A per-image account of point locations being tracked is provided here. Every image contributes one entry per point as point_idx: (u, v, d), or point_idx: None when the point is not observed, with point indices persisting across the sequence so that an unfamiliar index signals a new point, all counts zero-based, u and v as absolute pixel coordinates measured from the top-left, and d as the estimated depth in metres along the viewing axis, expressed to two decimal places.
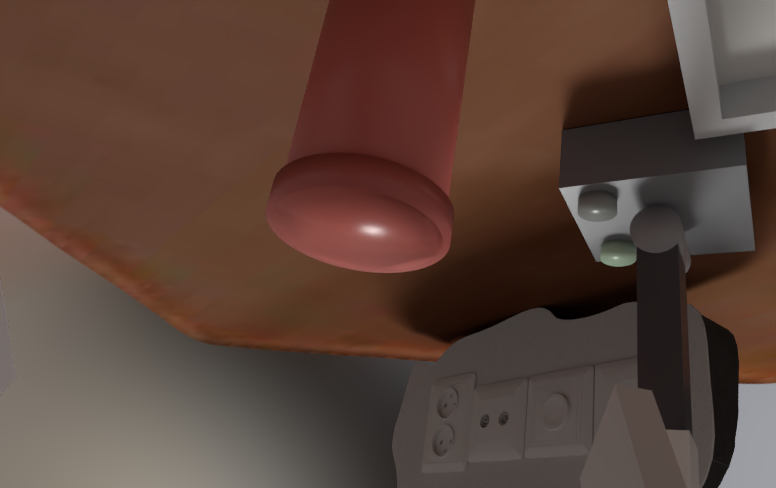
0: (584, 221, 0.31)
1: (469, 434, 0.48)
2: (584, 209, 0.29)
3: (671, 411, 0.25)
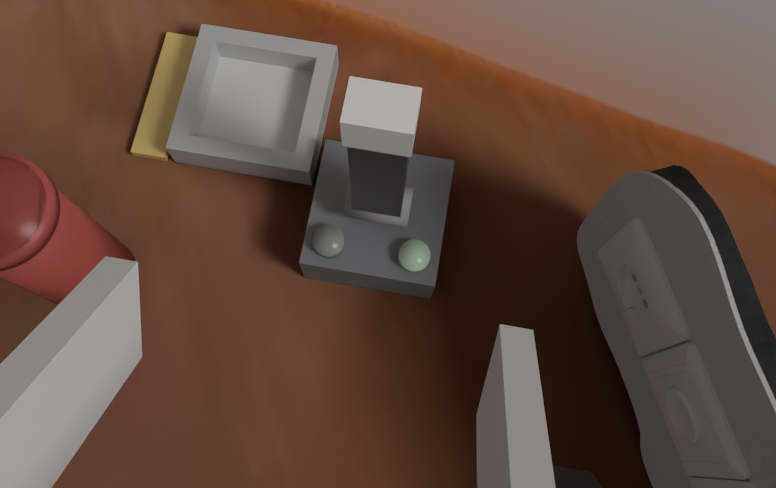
0: (357, 266, 0.35)
1: None
2: (320, 247, 0.35)
3: None
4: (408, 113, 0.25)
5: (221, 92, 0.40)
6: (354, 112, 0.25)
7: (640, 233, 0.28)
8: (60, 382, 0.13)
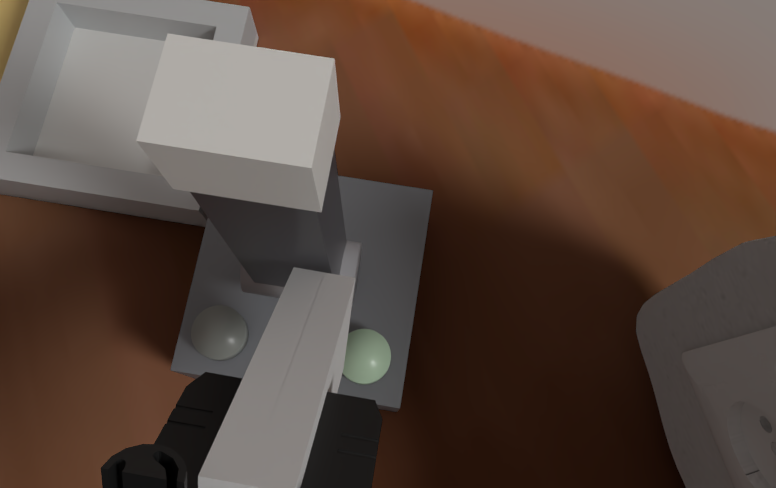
0: None
1: None
2: (203, 344, 0.20)
3: None
4: (300, 118, 0.11)
5: (73, 83, 0.26)
6: (172, 117, 0.11)
7: None
8: None
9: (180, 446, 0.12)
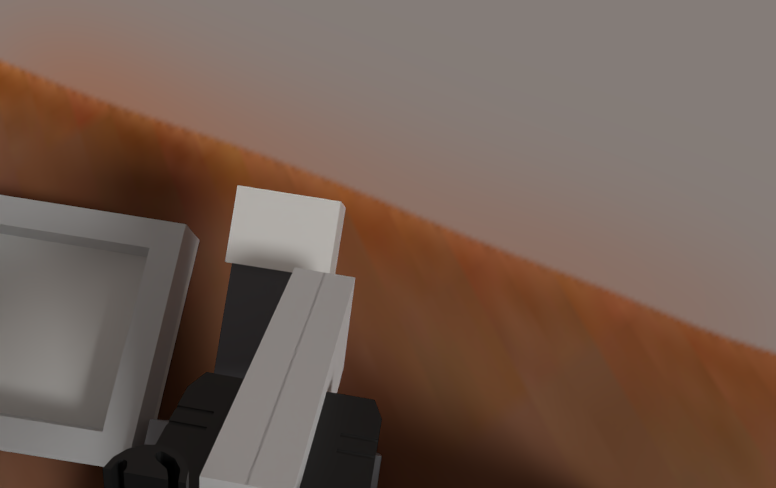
0: None
1: None
2: None
3: None
4: None
5: None
6: None
7: None
8: None
9: (181, 446, 0.12)
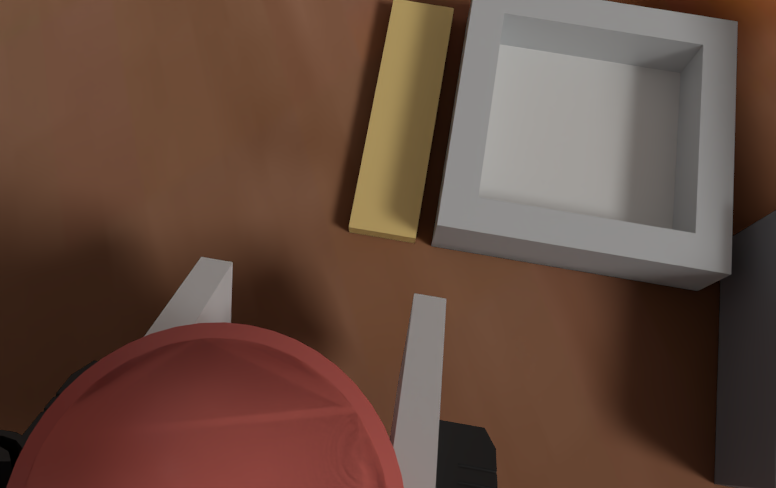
0: None
1: None
2: None
3: None
4: None
5: (506, 110, 0.22)
6: None
7: None
8: None
9: None
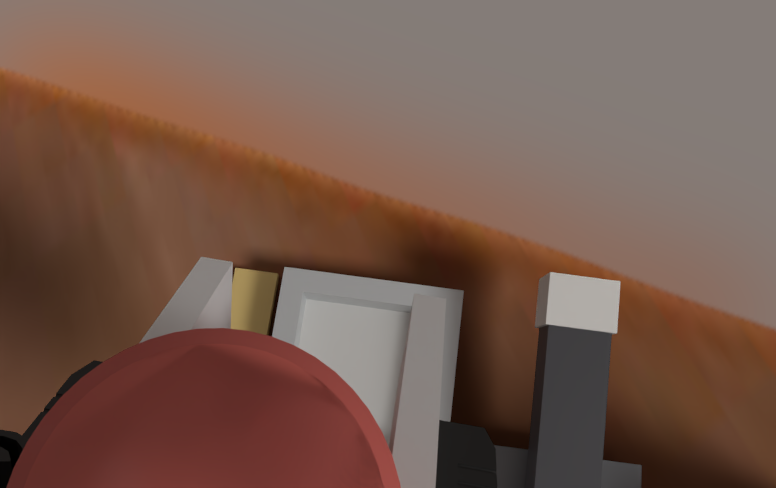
0: None
1: None
2: None
3: (540, 344, 0.27)
4: None
5: (312, 351, 0.31)
6: None
7: None
8: None
9: None
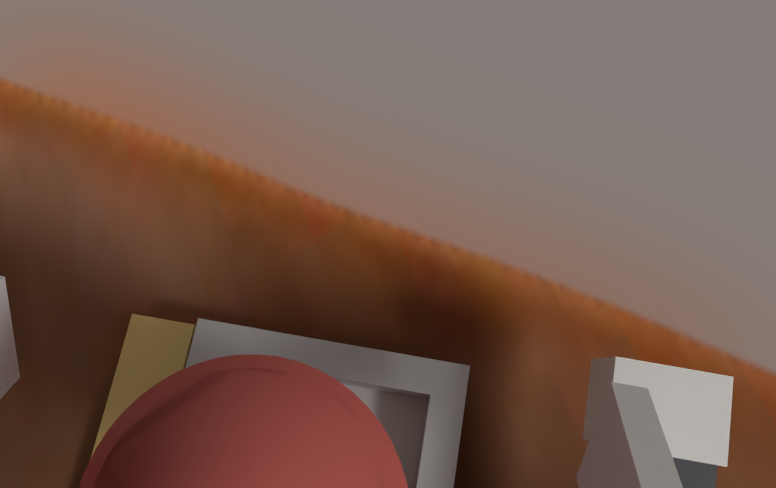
0: None
1: None
2: None
3: None
4: None
5: None
6: None
7: None
8: None
9: None
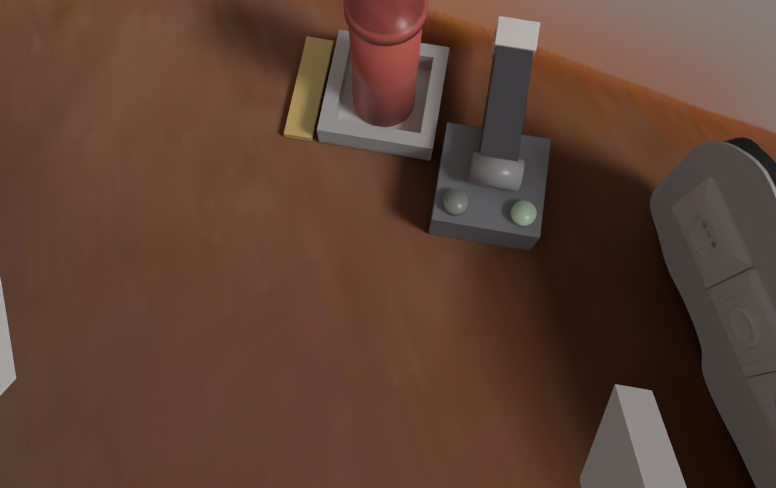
0: (477, 221, 0.44)
1: None
2: (449, 206, 0.44)
3: (492, 63, 0.46)
4: None
5: None
6: None
7: (712, 189, 0.37)
8: None
9: None
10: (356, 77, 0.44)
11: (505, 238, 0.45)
